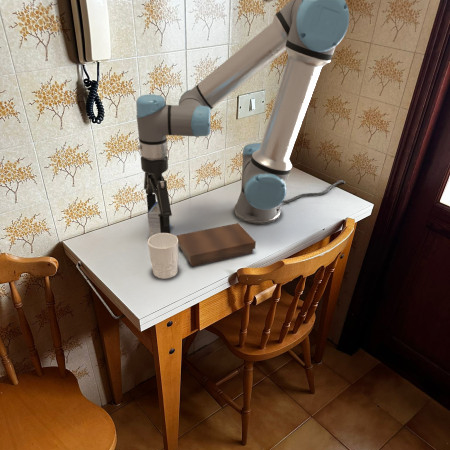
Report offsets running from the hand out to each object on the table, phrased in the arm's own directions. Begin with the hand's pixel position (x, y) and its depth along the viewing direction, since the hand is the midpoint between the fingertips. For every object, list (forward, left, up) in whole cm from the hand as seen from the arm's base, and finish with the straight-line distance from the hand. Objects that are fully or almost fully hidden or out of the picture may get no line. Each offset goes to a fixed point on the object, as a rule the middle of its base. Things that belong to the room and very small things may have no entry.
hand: (158, 223), depth 136 cm
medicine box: (0, 0, -3) cm, 3 cm away
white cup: (+5, +21, -3) cm, 22 cm away
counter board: (-12, +16, -3) cm, 21 cm away
